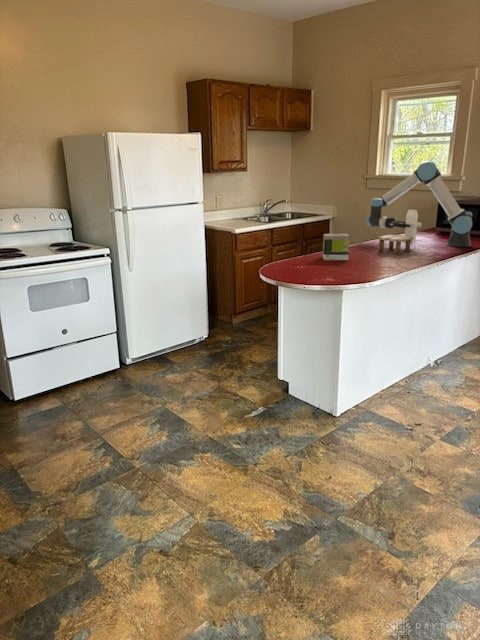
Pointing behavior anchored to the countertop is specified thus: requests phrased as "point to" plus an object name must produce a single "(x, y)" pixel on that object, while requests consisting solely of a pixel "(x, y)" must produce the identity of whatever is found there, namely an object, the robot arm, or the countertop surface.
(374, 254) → the countertop surface
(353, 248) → the countertop surface
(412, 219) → the milk
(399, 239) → the small table
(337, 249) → the tea box
